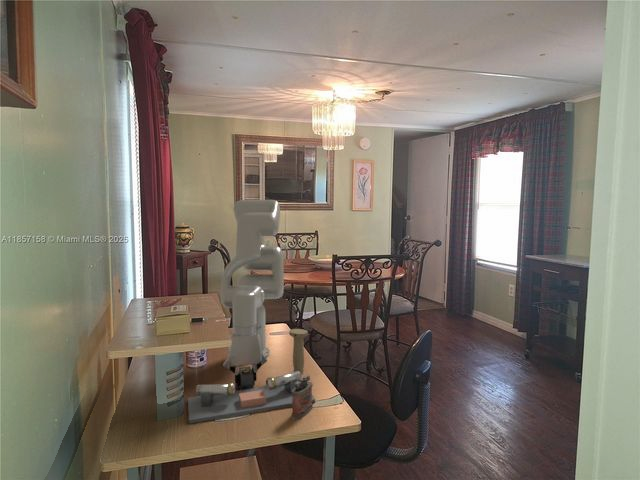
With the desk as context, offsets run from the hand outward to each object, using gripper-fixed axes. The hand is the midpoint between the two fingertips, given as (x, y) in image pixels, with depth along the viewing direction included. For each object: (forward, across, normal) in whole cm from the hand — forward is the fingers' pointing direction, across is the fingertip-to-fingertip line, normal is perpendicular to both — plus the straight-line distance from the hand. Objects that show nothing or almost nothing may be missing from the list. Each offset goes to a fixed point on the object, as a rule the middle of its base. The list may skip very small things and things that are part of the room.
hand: (245, 383), depth 134 cm
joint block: (+1, 0, 0) cm, 1 cm away
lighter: (+1, -13, +22) cm, 25 cm away
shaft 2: (+1, -10, +10) cm, 14 cm away
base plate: (+1, 0, +11) cm, 11 cm away
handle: (+1, -19, -4) cm, 19 cm away
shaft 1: (+1, +10, +10) cm, 14 cm away
